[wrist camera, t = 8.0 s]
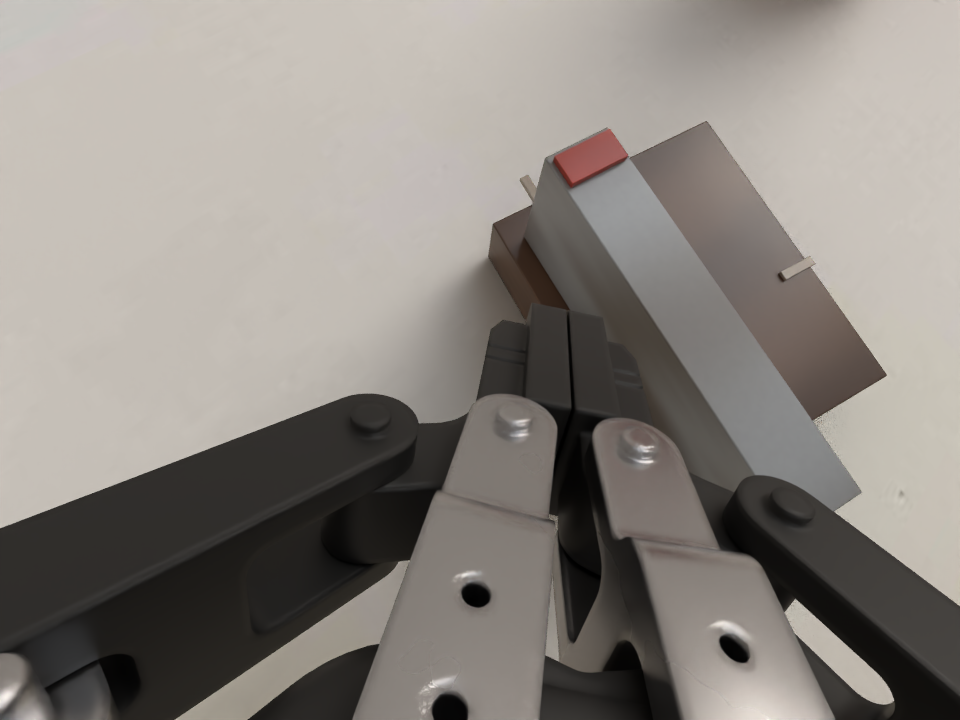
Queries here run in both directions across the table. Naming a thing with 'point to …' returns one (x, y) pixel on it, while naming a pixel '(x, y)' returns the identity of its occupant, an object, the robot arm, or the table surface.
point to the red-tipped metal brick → (674, 325)
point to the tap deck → (726, 268)
